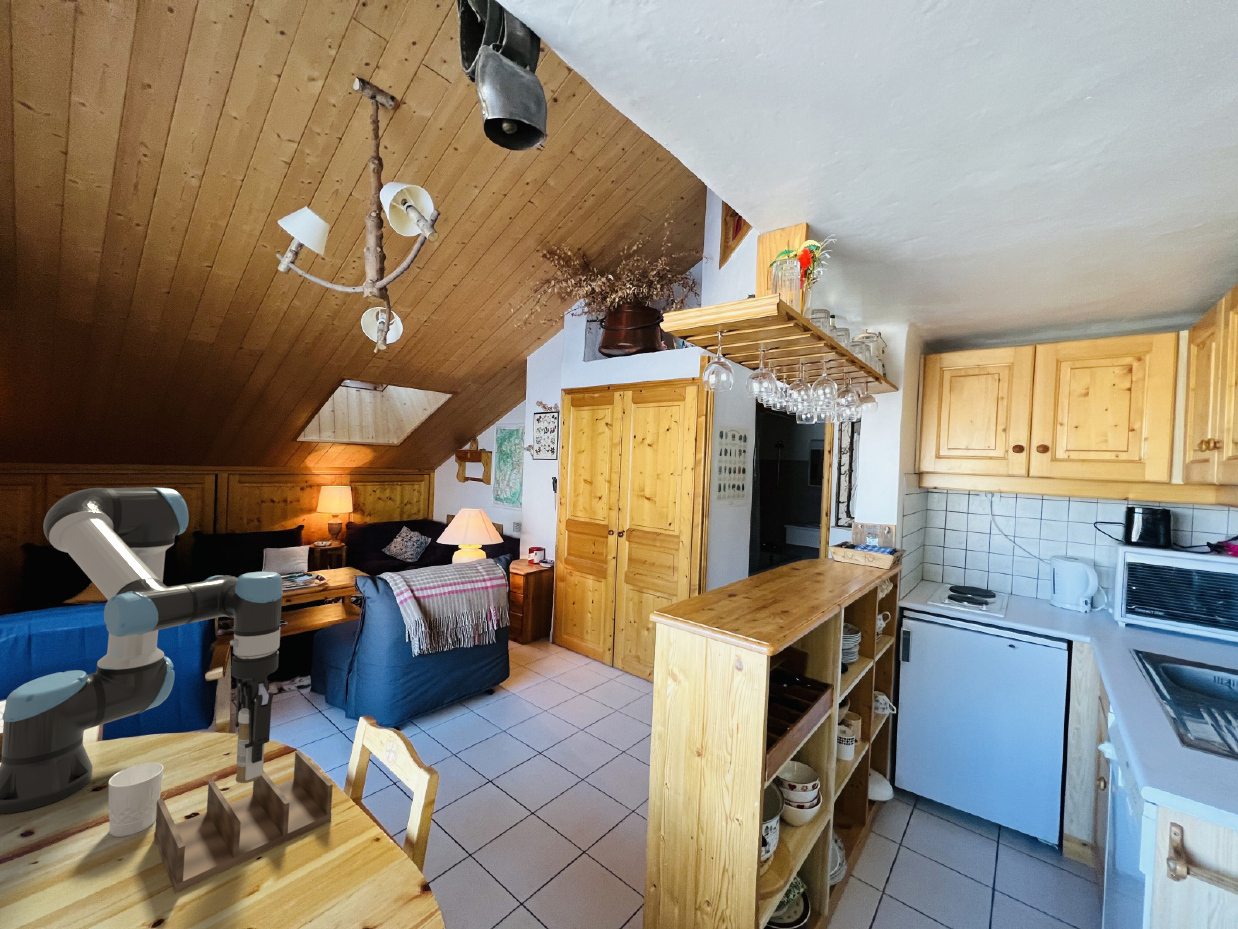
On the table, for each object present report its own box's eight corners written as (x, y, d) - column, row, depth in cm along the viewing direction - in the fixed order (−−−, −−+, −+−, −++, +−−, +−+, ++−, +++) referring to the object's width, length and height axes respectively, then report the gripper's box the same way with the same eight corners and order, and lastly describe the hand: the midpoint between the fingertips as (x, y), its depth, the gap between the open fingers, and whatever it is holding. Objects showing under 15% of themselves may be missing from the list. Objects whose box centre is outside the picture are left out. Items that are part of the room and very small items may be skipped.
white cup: (126, 843, 96) (129, 789, 96) (94, 835, 98) (97, 782, 98) (170, 816, 104) (173, 766, 104) (140, 808, 105) (143, 760, 106)
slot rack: (154, 840, 97) (156, 800, 97) (297, 783, 116) (299, 750, 116) (175, 893, 86) (178, 848, 86) (331, 821, 105) (333, 784, 105)
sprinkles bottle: (267, 776, 101) (270, 708, 102) (239, 787, 98) (243, 716, 98) (258, 768, 104) (261, 701, 104) (231, 778, 100) (234, 709, 101)
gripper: (220, 646, 104) (214, 762, 104) (247, 669, 93) (240, 800, 92) (263, 637, 110) (257, 747, 109) (293, 659, 99) (287, 781, 98)
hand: (249, 771), depth 101 cm, fingers closed on sprinkles bottle, 4 cm apart
